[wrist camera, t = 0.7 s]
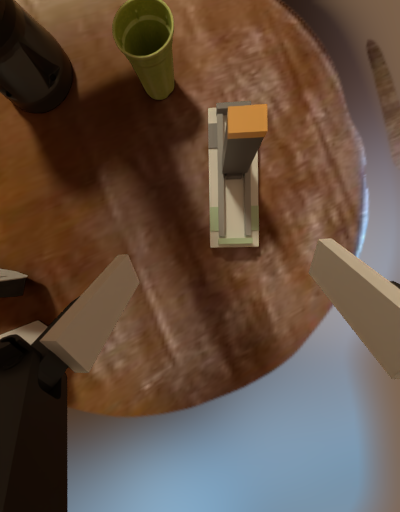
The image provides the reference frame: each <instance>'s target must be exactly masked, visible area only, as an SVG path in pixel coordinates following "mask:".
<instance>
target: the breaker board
mask: <svg viewBox="0 0 400 512" xmlns="http://www.w3.org/2000/svg"><path fill="white" fill-rule="evenodd" d="M245 105H251V101H240V102H225V103H217V105H216V108H208V137H209V202H210V248H223V247H258V246H259V206H258V151H257V153H256V155H255V157H254V159H253V161H252V164H251V166H250V168H249V170H248V172H247V173H243V176H242V178H241V179H229V180H226V174H222V152H223V145H224V137H225V130H226V122H227V111H228V107H230V106H245Z"/></svg>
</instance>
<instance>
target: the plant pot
mask: <svg viewBox="0 0 400 512" xmlns="http://www.w3.org/2000/svg"><path fill="white" fill-rule="evenodd" d="M173 32H174V20H173V16H172V13H171V10H170V8H169V7H168V6H167V5H166V3H165V2H163V1H162V0H128V1H127V2H125V3H124V4H123V5H122V6H121V7H120V8H119V9H118V11H117V13H116V15H115V17H114V20H113V24H112V33H113V38H114V40H115V43H116V45H117V46H118V48H119V49H120V51H121V52H122V53H123V54H125V56H126V57H127V59H128V60H129V61H130V63H131V65H132V67H133V69H134V70H135V72H136V74H137V76H138V78H139V80H140V81H141V83H142V85H143V87H144V89H145V91H146V93H147V94H148V95H149V96H150V97H151V98H153V99H156V100H162V99H165V98H167V97H168V95H169V94H170V93H171V92H172V91H173V89H174V70H173V56H172V36H173Z"/></svg>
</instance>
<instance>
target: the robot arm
mask: <svg viewBox="0 0 400 512" xmlns="http://www.w3.org/2000/svg"><path fill="white" fill-rule="evenodd" d="M71 82H72V67H71V63H70V60H69V58H68V56H67V54H66V53H65V52H64V50H63V49H62V47H61V46H60V45H59V43H58V42H57V41H56V39H55V38H54V37H53V36H52V35H51V34H50V33H49V32H48V31H47V30H46V29H45V28H44V27H43V26H41V25H40V24H39V23H38V22H37V21H36V20H35V19H34V18H33V17H32V16H31V15H30V14H29V13H28V12H26V11H25V10H24V9H23V8H22V7H21V6H20V5H19V4H18V3H17V2H16V1H15V0H0V92H1V93H2V94H3V95H4V96H5V97H6V98H7V99H9V100H10V101H11V102H13V103H14V104H15V105H16V106H18V107H19V108H21V109H22V110H25V111H27V112H32V113H42V112H46V111H49V110H51V109H53V108H55V107H56V106H57V105H59V104H60V103H61V102H62V101H63V100H64V98H65V97H66V95H67V94H68V92H69V89H70V86H71ZM309 274H310V275H311V277H312V278H313V279H314V280H315V282H316V283H317V284H318V286H319V287H320V288H321V289H322V291H323V292H324V293H325V294H326V296H327V297H328V298H329V300H330V301H331V302H332V303H333V305H334V306H335V307H336V308H337V310H338V311H339V312H340V313H341V315H342V316H343V317H344V319H345V320H346V321H347V323H348V324H349V325H350V326H351V328H352V329H353V330H354V331H355V332H356V334H357V335H358V337H359V338H360V339H361V340H362V342H363V343H364V344H365V346H366V347H367V348H368V349H369V351H370V352H371V353H372V354H373V356H374V357H375V358H376V360H377V361H378V362H379V363H380V365H381V366H382V367H383V369H384V370H385V371H386V372H387V374H388V375H389V376H390V377H391V379H400V284H398V283H396V282H394V281H388V280H387V279H385V278H384V277H383V276H381V275H380V274H379V273H377V272H376V271H374V270H373V269H371V267H369V266H368V265H366V264H365V263H364V262H362V261H361V260H360V259H358V258H357V257H356V256H354V255H353V254H352V253H350V252H349V251H348V250H346V249H345V248H343V247H342V246H341V245H339V244H338V243H337V242H335V241H334V240H333V239H331V238H330V239H318V242H317V245H316V249H315V253H314V256H313V260H312V263H311V267H310V270H309ZM139 283H140V282H139V280H138V277H137V275H136V273H135V270H134V268H133V265H132V263H131V261H130V258H129V256H128V254H125V255H118V256H117V257H116V258H115V259H114V260H113V261H112V262H111V263H110V265H109V266H108V267H107V268H106V269H105V270H104V271H103V272H102V273H101V274H100V275H99V277H98V278H97V279H96V280H95V281H94V282H93V283H92V284H91V285H90V286H89V287H88V289H87V290H86V291H85V292H84V293H83V294H82V295H81V296H79V297H78V298H77V299H75V300H74V301H72V302H71V303H70V304H69V305H68V306H67V307H66V308H65V309H64V310H63V312H61V314H60V315H59V316H58V318H56V319H55V320H54V321H53V322H52V323H51V324H50V325H49V326H48V327H47V328H46V329H45V331H44V332H43V333H42V334H41V335H40V336H39V337H38V338H37V339H36V340H35V341H34V342H33V343H32V344H31V345H30V344H29V343H28V342H27V341H25V340H24V339H23V338H22V337H20V336H19V335H17V334H13V335H9V336H6V337H3V338H1V339H0V512H67V376H66V374H65V373H64V372H65V371H66V369H67V368H68V367H69V368H71V369H72V370H73V371H74V372H80V373H89V371H90V370H91V368H92V366H93V364H94V363H95V361H96V359H97V357H98V355H99V354H100V352H101V350H102V348H103V347H104V345H105V343H106V341H107V339H108V338H109V336H110V334H111V332H112V331H113V329H114V327H115V325H116V323H117V322H118V320H119V318H120V316H121V315H122V313H123V311H124V309H125V307H126V306H127V304H128V302H129V300H130V299H131V297H132V295H133V293H134V291H135V290H136V288H137V286H138V284H139Z"/></svg>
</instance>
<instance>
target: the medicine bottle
mask: <svg viewBox="0 0 400 512" xmlns="http://www.w3.org/2000/svg"><path fill="white" fill-rule="evenodd" d="M47 327H48V326H46V325H45V324H43V323H42V322H40V321H34V322H32V323H29V324H27V325H24V326H21V327H19V328H16V329H14V330H11V331H9V332H6V333H3V334H1V335H0V339H1V338H3V337H6V336H9V335H13V334H17V335H19V336H20V337H22V338H23V339H24V340H25V341H27V342H28V343H29V344H30V345H31V344H32V343H33V342H34V341H35V340H36V339H37V338H38V337H39V336H40V335H41V334H42V333H43V332H44V331H45V329H46V328H47Z"/></svg>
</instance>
